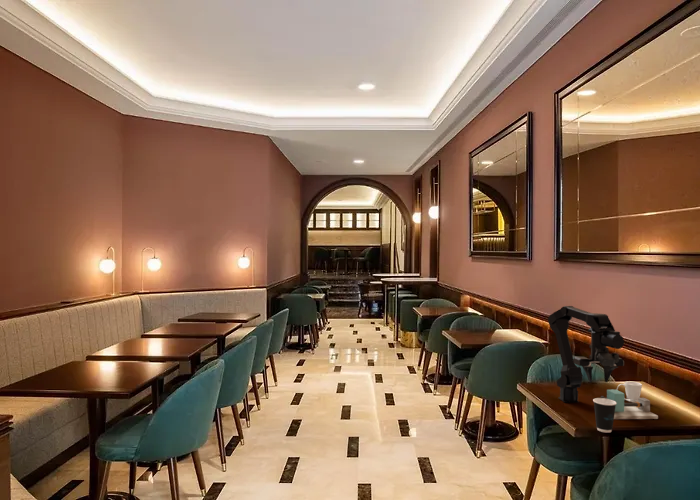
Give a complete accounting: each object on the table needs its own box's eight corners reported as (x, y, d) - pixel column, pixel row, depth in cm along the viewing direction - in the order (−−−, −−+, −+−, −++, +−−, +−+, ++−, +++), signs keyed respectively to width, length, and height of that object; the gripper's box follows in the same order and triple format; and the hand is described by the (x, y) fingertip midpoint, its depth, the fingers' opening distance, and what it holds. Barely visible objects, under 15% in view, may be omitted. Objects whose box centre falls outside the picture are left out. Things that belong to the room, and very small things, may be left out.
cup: (642, 404, 221) (642, 386, 221) (616, 400, 225) (616, 383, 225) (641, 400, 227) (641, 382, 227) (616, 396, 232) (616, 379, 232)
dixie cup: (611, 435, 183) (611, 405, 183) (589, 429, 189) (589, 400, 189) (619, 430, 188) (620, 401, 188) (597, 424, 194) (598, 396, 194)
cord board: (614, 419, 201) (614, 404, 201) (595, 407, 215) (595, 393, 215) (657, 418, 202) (658, 403, 202) (636, 407, 216) (636, 393, 216)
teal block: (614, 411, 205) (614, 393, 205) (606, 407, 211) (607, 389, 211) (624, 411, 206) (624, 393, 206) (616, 407, 211) (616, 389, 211)
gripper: (587, 348, 199) (586, 387, 199) (632, 348, 200) (632, 387, 200) (573, 343, 210) (572, 380, 211) (616, 343, 211) (615, 379, 212)
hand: (598, 381), depth 208 cm, fingers open, 6 cm apart
